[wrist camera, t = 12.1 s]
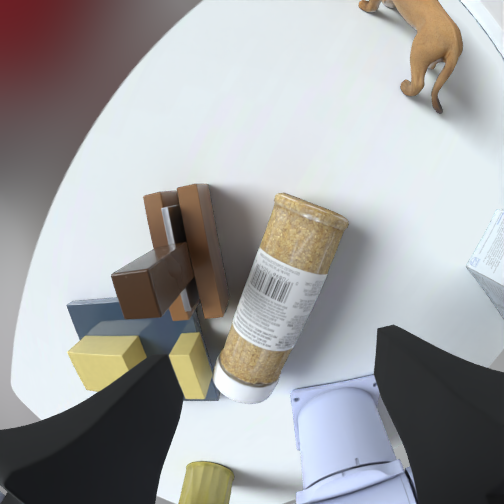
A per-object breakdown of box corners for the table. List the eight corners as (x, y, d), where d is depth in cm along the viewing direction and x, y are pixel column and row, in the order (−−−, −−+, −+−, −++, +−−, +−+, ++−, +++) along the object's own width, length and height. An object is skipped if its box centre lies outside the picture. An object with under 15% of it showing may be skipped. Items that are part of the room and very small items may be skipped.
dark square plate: (220, 393, 21) (218, 400, 20) (110, 388, 23) (106, 394, 22) (190, 289, 19) (187, 294, 18) (72, 300, 20) (66, 304, 19)
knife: (215, 285, 19) (176, 361, 10) (191, 288, 19) (139, 360, 10) (198, 200, 18) (135, 214, 9) (173, 205, 18) (97, 224, 9)
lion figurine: (319, -22, 13) (335, -92, 4) (369, -26, 12) (398, -84, 3) (413, 121, 15) (495, 92, 7) (458, 108, 14) (533, 86, 6)
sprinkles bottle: (284, 192, 18) (224, 356, 21) (268, 187, 13) (200, 386, 17) (349, 218, 17) (276, 380, 20) (355, 220, 12) (261, 416, 16)
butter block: (154, 375, 20) (141, 397, 17) (101, 371, 21) (86, 390, 18) (138, 335, 19) (122, 355, 16) (85, 335, 20) (66, 352, 17)
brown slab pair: (230, 298, 19) (223, 317, 16) (185, 302, 19) (172, 321, 17) (208, 183, 17) (196, 183, 14) (161, 193, 18) (142, 196, 15)
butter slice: (212, 374, 20) (205, 399, 17) (194, 374, 20) (185, 399, 17) (200, 331, 19) (189, 354, 16) (181, 333, 19) (168, 355, 16)
